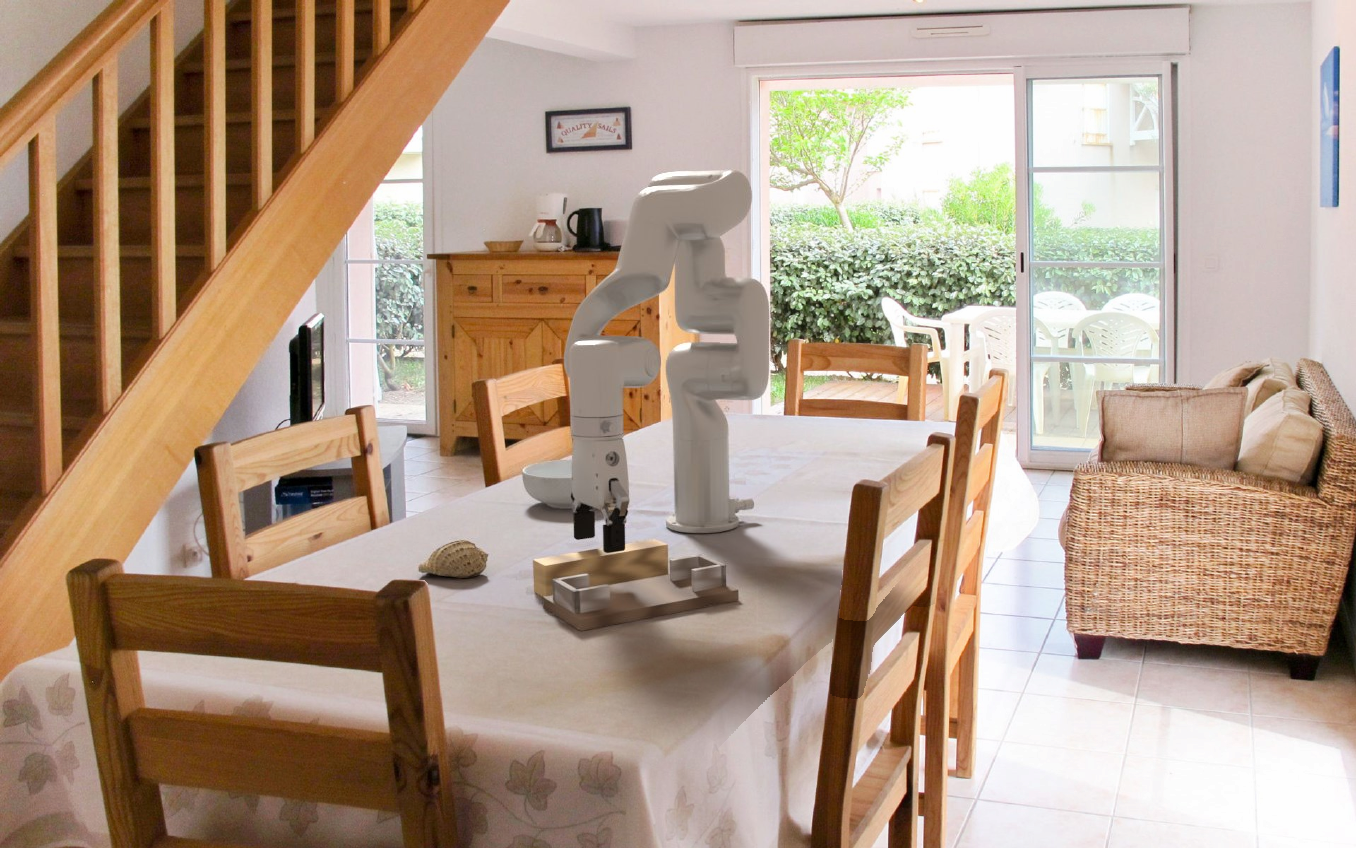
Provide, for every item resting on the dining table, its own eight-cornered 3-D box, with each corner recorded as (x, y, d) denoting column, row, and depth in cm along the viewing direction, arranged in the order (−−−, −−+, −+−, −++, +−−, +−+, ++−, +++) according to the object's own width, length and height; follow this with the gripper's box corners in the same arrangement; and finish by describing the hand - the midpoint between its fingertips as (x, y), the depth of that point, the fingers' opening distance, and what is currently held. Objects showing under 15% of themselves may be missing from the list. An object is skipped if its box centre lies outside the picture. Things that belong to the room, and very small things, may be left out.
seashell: (438, 604, 183) (497, 568, 186) (418, 570, 181) (478, 535, 184) (429, 590, 190) (487, 556, 193) (410, 557, 189) (468, 523, 191)
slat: (654, 571, 188) (654, 539, 188) (668, 577, 185) (667, 544, 184) (534, 593, 178) (532, 559, 177) (546, 600, 175) (545, 565, 174)
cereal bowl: (504, 506, 233) (503, 469, 232) (568, 491, 246) (566, 455, 245) (569, 518, 222) (567, 479, 221) (631, 502, 235) (630, 465, 234)
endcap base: (694, 580, 182) (693, 550, 181) (738, 600, 172) (738, 568, 171) (543, 607, 170) (541, 575, 170) (580, 631, 160) (579, 597, 159)
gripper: (648, 432, 172) (650, 553, 174) (594, 419, 187) (596, 530, 189) (600, 436, 168) (602, 560, 171) (548, 422, 183) (550, 536, 186)
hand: (599, 544), depth 180 cm, fingers open, 9 cm apart
